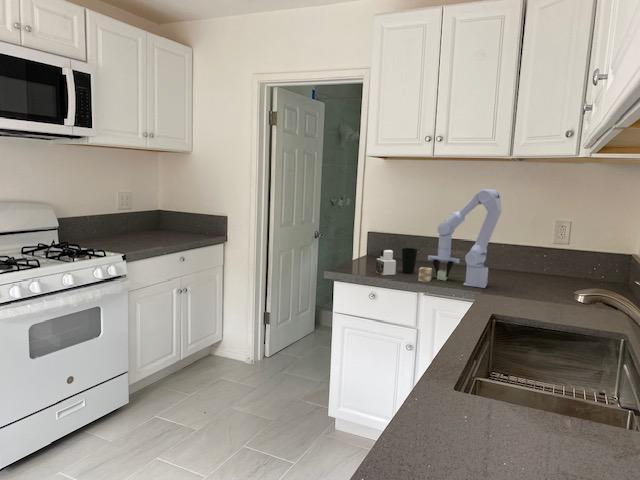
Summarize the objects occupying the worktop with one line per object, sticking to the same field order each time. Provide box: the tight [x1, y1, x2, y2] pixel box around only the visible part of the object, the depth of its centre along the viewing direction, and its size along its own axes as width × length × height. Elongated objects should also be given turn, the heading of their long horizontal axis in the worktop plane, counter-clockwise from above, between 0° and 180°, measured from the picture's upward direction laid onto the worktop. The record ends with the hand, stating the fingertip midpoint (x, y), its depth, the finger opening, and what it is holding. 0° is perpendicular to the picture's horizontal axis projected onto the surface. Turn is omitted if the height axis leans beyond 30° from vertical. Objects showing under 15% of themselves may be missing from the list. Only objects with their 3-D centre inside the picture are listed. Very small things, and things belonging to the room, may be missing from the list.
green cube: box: [436, 269, 448, 281], centre depth 228 cm, size 4×4×4 cm
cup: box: [401, 247, 418, 275], centre depth 239 cm, size 8×8×12 cm
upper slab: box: [418, 266, 433, 276], centre depth 223 cm, size 5×5×3 cm
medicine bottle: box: [375, 248, 397, 276], centre depth 235 cm, size 7×7×12 cm
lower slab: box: [417, 274, 432, 283], centre depth 223 cm, size 5×5×3 cm
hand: (442, 276), depth 228 cm, fingers closed on green cube, 4 cm apart
